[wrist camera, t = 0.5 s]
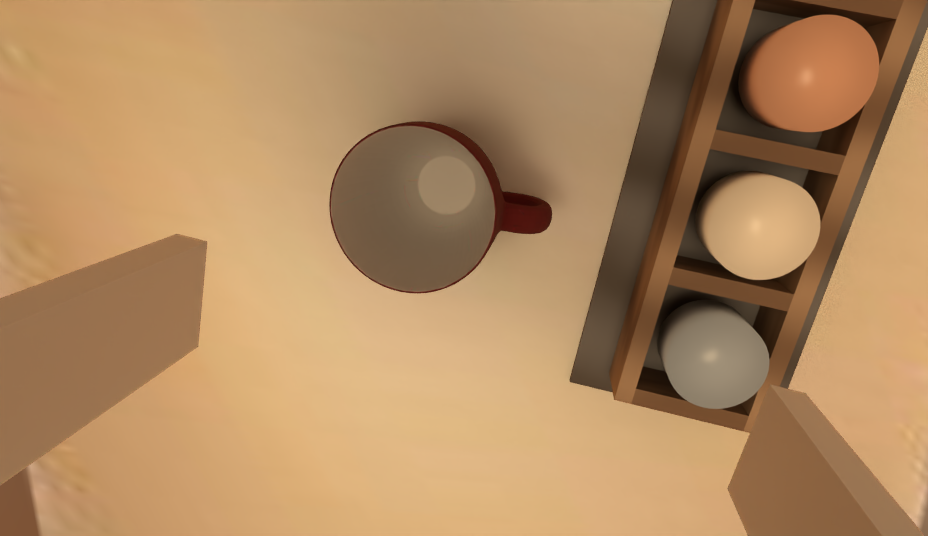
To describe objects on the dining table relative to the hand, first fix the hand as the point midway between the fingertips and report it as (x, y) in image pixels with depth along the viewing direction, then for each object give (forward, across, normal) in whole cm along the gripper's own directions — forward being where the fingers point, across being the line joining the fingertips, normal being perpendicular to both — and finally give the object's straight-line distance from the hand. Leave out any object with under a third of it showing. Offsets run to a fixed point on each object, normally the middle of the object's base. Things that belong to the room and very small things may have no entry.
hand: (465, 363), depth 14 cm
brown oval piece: (+22, +12, +10) cm, 27 cm away
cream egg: (+22, +12, +2) cm, 25 cm away
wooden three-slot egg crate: (+25, +12, +2) cm, 28 cm away
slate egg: (+22, +12, -5) cm, 26 cm away
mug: (+25, -4, 0) cm, 25 cm away
